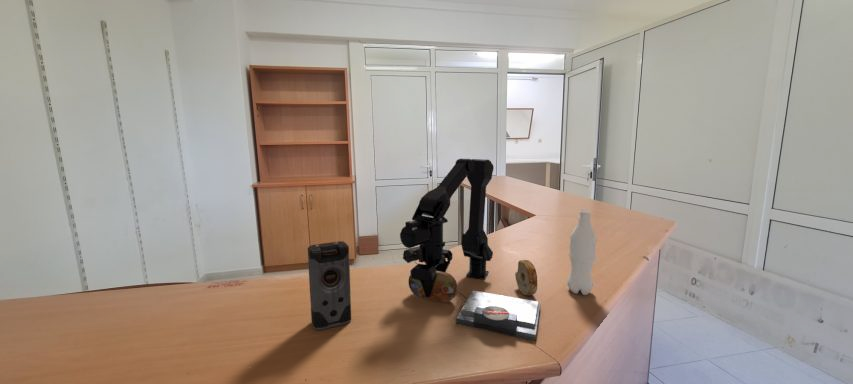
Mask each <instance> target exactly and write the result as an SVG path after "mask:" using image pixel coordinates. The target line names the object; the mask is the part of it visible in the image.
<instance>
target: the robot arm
mask: <svg viewBox="0 0 853 384" xmlns="http://www.w3.org/2000/svg"><path fill="white" fill-rule="evenodd" d="M494 167H495V166H494V164H493V163H492V161H491V159H483V158H482V159H478V158H459V159H457V160H456V161H455V164H454V166H453V167H452V168H451V169H450V171H449V172H447V175H446V176H445V177H444V178H443V179H442V181H441V182H440V183H439V184H438V185H437V187H436V188H434V189H431V190H429V191H427V192H426V193H425V194H424V195H423V196H422V197H421V198H420V199H419V202H418V206H417V207H416V209H415V211H414V214H413V215H412V217H411V220H412V221H411V220H410V221H405V223H404V224H405V226H403V227H402V229H401V230H400V233H399V239H400V241H401V243H402V245H403V247H406V248H407V249H405V250H403V253H402V259H403V260H404V261H405V262H406V263H407V264H410V263H411V262H415V261H418V262H419V263H416V265H415V266H414V267H413V268H411V269H410V275H409V277H411V278H414V279H418V280H419V281H420V282H421V284H422V287H423V290H424V293H425V296H426V297H428V298H429V297H430V295H431V293H432V290H433V287H434V284H435V281H436V278H437V276H436V271H441V272H446V273H447V270H448V268H449V266H450V264H451V261H452V260H453V252H452V251H451V250H450V249H444V247H445V246H446V242H445V241H444V224H446V223H448V222H449V221H448V218H446V217H445V215H446V214H447V212H448V210H449V208H450V206H451V199H452V197H453V195H454V193H456V191H457V190H458V189H459V187H460V185H461V184H462V183H463V182H464V181H465V180H466V178H467V180H468V182H469V185H470V197H469V214H468V228H467V229H466V231H465V233H462V235H461V243H460V246H461V249H462V250H461V251H462V253H463V257H465V258H466V257H467V258H469V264H468V265H469V267H468V269H469V270H468V272H467V273H466V275H465V276H466V277H469V278H473V279H474V278H476V279H483V280H485V279H486V278H487V276H488V274H489V272H490V271H489V270H487V262H491V260H492V258H493V256H494V252H493V250H492V249H491V247H490V246H489V244H488V243H489V240H488V239H489V238H488V236H487V233H486V231H485V230H484V228H485V227H484V226H485V225H484V224H485V211H486V194H487V186H488V184H490V182H491V180H492V178H493V172H494ZM423 263H424V264H423Z"/></svg>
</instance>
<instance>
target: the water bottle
mask: <svg viewBox="0 0 853 384" xmlns="http://www.w3.org/2000/svg"><path fill="white" fill-rule="evenodd" d="M577 220H578V222H577V224H576V225H575V227H574V229H573V230H572V232H571V233H570V236H569V239H570V241H569V253H568V256H569V258H570V259H569V260H570V264H571V269H570V274H569V275H568V278H567V280H566V281H567V287H568V289H569V290H570V292H571V293H573V294H575V295H577V294H579V292H581V295H583V296H587V295H589V294H590V292H591V291H592V289H593V288H594V282H593V279H592V267H593V265H594V263H595V261H596V245H597V235H596V233H595V230H594V229H593V227H592V224H591V220H592V218H591V211H590V210H579V213H578V218H577Z"/></svg>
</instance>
